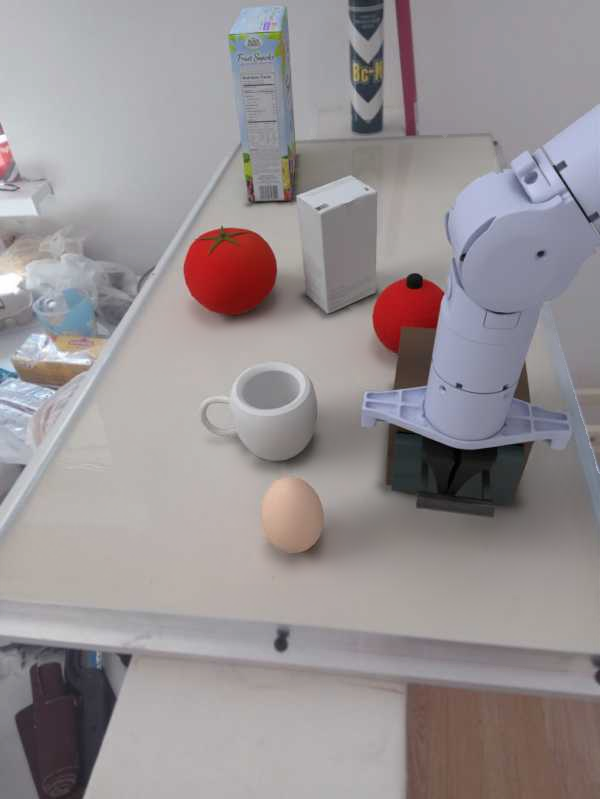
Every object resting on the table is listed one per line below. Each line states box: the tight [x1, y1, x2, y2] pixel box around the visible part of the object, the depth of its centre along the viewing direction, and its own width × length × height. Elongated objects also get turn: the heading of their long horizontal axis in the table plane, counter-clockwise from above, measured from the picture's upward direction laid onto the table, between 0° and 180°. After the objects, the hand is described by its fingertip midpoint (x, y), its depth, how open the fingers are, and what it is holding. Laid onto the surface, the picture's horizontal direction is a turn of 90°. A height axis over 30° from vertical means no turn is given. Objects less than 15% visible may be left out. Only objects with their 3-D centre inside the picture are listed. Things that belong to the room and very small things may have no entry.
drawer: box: [390, 432, 526, 519], centre depth 50 cm, size 17×10×7 cm, turn 168°
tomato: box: [182, 225, 278, 316], centre depth 72 cm, size 11×12×10 cm
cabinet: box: [385, 327, 535, 501], centre depth 52 cm, size 14×12×9 cm
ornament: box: [371, 272, 445, 355], centre depth 62 cm, size 9×9×10 cm
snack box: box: [227, 4, 297, 203], centre depth 95 cm, size 22×9×26 cm, turn 179°
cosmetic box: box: [296, 174, 379, 315], centre depth 69 cm, size 8×6×15 cm
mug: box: [198, 361, 318, 462], centre depth 54 cm, size 12×8×8 cm
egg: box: [260, 476, 325, 554], centre depth 45 cm, size 5×5×8 cm
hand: (445, 487), depth 46 cm, fingers closed, pressing on drawer
